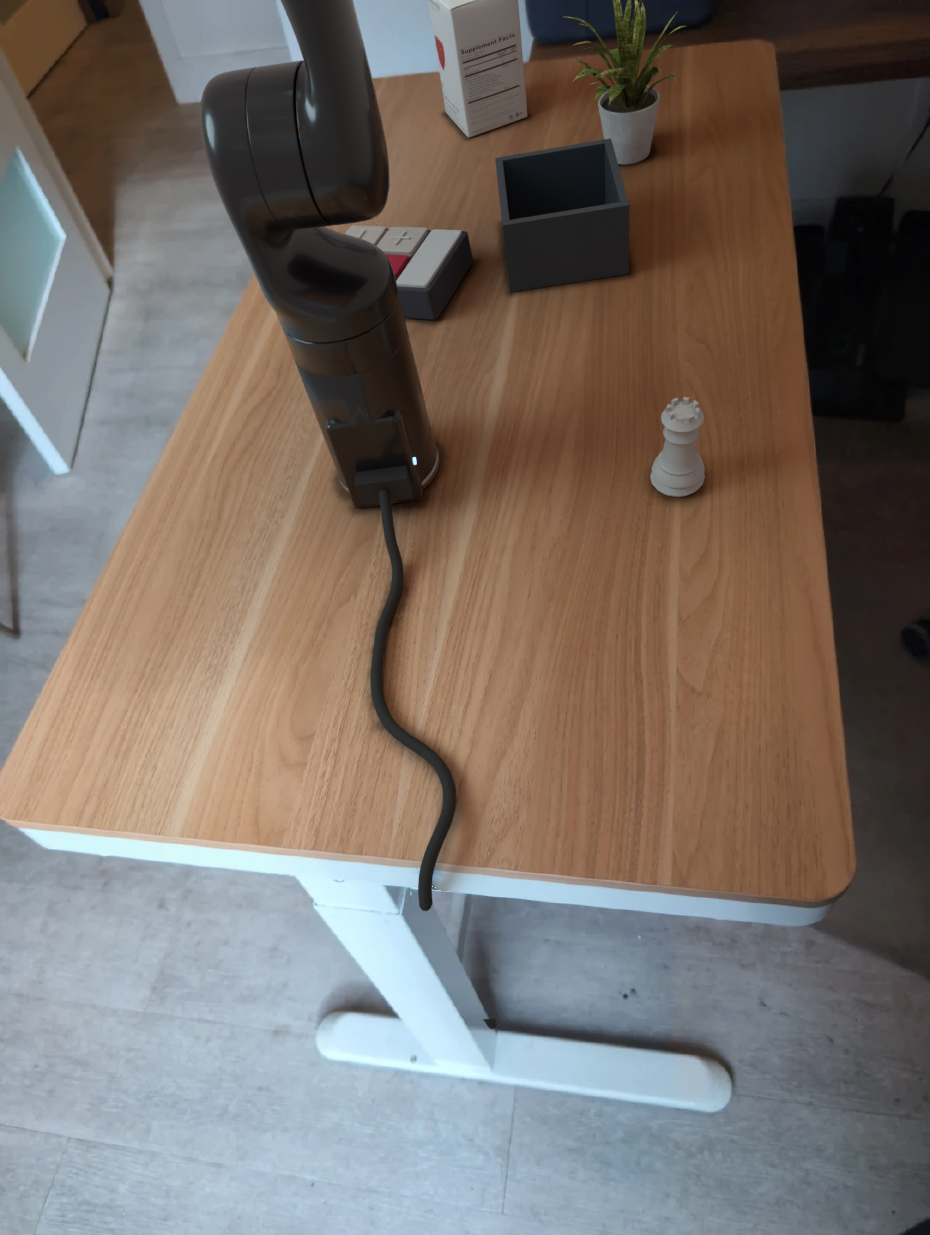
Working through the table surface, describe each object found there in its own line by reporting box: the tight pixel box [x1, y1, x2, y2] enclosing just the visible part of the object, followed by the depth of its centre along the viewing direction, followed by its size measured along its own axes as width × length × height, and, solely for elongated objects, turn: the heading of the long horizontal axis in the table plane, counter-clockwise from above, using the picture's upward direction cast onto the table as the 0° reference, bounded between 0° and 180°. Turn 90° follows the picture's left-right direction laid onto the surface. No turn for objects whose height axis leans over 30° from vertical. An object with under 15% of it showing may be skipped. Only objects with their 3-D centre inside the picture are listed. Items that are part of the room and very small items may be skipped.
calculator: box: [344, 225, 474, 321], centre depth 92 cm, size 11×4×15 cm
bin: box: [494, 138, 630, 293], centre depth 89 cm, size 14×13×8 cm
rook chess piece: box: [649, 396, 706, 498], centre depth 67 cm, size 4×4×8 cm
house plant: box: [564, 0, 686, 165], centre depth 96 cm, size 14×14×16 cm
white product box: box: [427, 0, 528, 138], centre depth 107 cm, size 9×9×15 cm
